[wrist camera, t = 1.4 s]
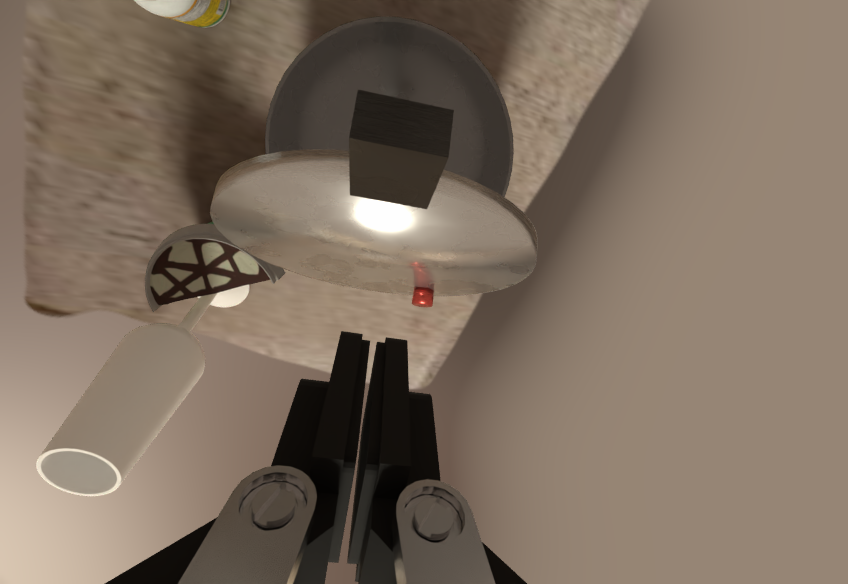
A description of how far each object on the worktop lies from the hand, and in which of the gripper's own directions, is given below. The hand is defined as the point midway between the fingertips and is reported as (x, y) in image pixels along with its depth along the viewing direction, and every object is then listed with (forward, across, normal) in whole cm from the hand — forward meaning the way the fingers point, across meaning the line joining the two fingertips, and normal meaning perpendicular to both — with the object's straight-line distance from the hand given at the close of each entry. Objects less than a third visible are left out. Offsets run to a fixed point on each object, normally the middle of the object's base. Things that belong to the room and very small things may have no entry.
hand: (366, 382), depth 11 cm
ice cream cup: (+35, +15, +10) cm, 39 cm away
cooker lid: (+15, 0, +1) cm, 15 cm away
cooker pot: (+35, 0, -2) cm, 35 cm away
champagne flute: (+35, +17, +16) cm, 42 cm away
